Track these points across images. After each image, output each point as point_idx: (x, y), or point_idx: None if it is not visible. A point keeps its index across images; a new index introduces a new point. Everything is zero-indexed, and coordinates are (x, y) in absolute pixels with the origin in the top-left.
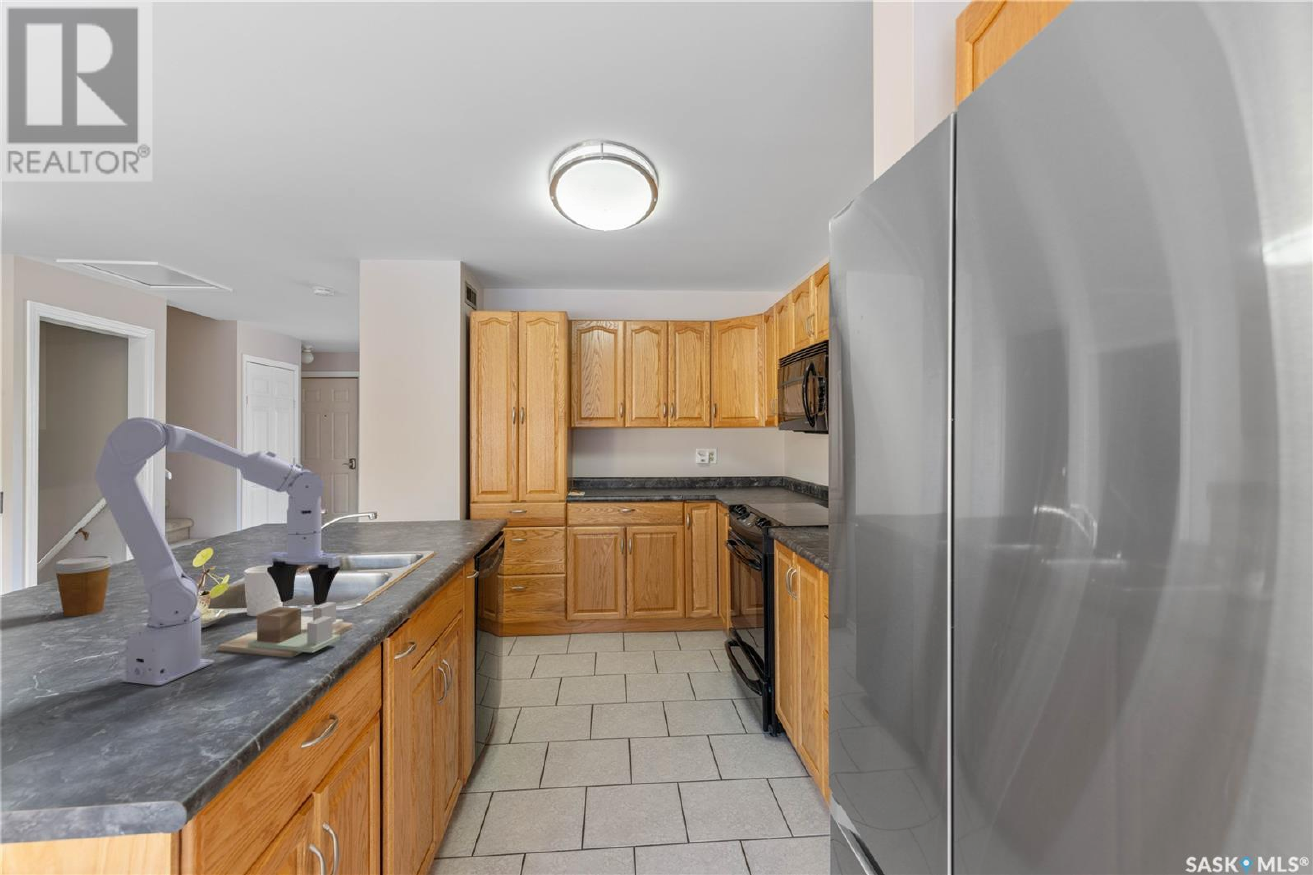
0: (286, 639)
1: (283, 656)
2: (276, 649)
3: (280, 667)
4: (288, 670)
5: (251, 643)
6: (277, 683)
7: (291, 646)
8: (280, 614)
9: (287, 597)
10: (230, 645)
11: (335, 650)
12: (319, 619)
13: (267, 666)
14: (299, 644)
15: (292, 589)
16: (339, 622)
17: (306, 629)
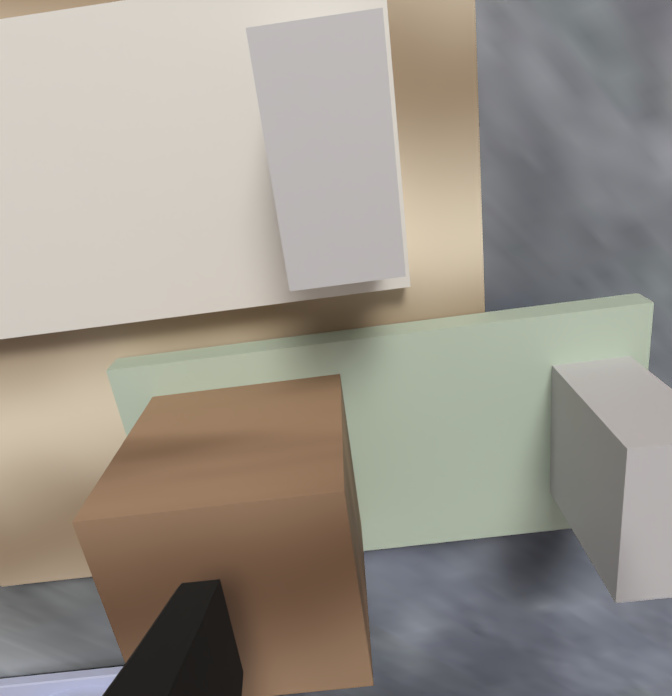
0: (355, 485)
1: None
2: None
3: (528, 595)
4: (594, 604)
5: None
6: (650, 687)
7: (477, 536)
8: (326, 655)
9: (224, 671)
10: (62, 569)
11: (653, 361)
12: (653, 519)
13: (456, 605)
14: (502, 506)
15: (183, 693)
16: (385, 20)
17: (297, 297)
